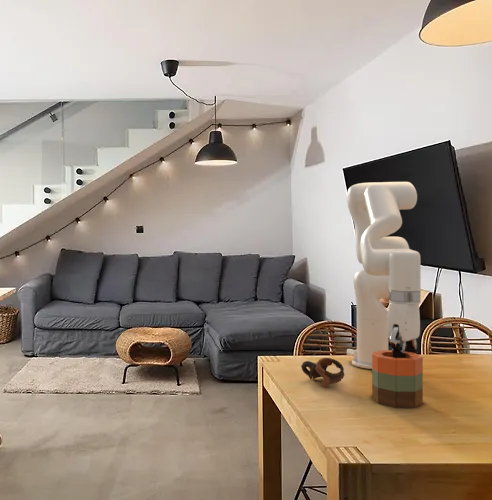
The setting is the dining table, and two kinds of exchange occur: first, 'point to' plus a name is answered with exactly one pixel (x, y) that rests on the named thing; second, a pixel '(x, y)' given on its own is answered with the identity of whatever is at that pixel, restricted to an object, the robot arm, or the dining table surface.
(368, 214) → the robot arm
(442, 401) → the dining table surface
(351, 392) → the dining table surface
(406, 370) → the ring top
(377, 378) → the ring middle
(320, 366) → the brown knot
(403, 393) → the ring bottom
